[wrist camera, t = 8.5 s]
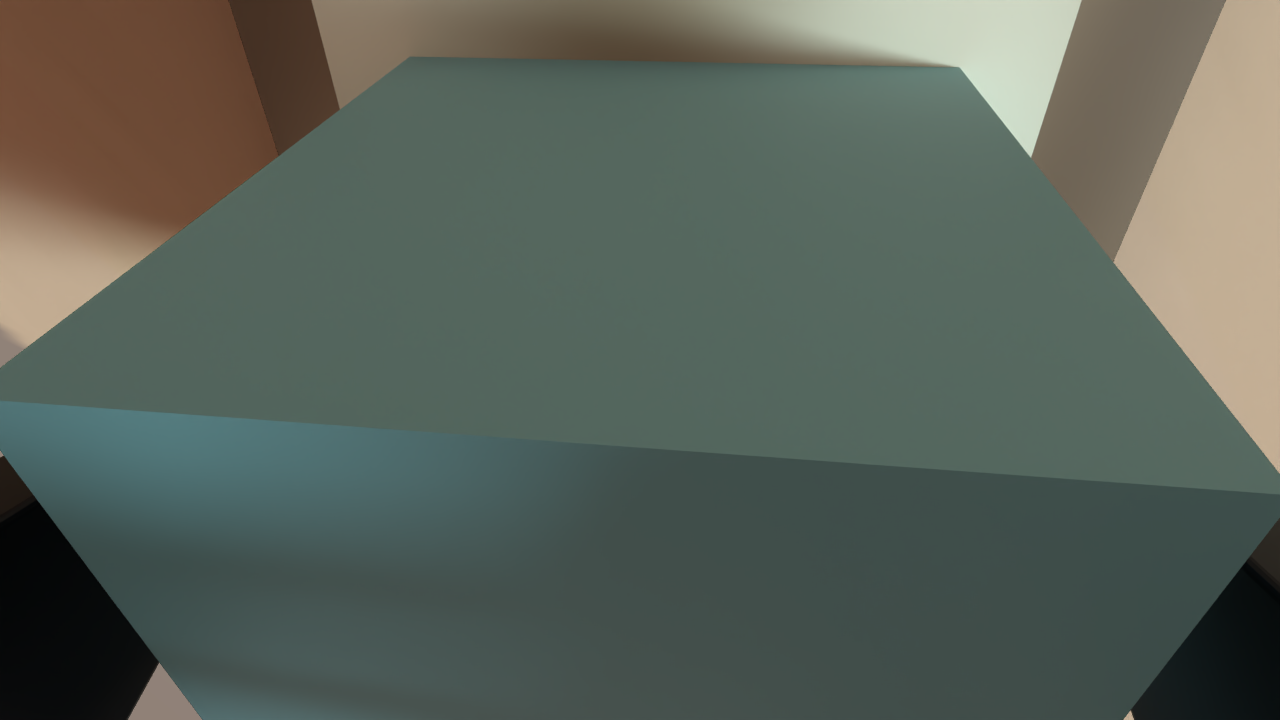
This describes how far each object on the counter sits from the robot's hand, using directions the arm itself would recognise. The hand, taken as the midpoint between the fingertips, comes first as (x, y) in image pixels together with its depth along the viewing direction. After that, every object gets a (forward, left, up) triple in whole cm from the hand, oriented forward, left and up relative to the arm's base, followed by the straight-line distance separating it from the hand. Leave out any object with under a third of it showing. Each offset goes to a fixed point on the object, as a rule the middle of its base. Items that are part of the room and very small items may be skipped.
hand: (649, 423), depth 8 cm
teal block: (0, 0, -3) cm, 3 cm away
